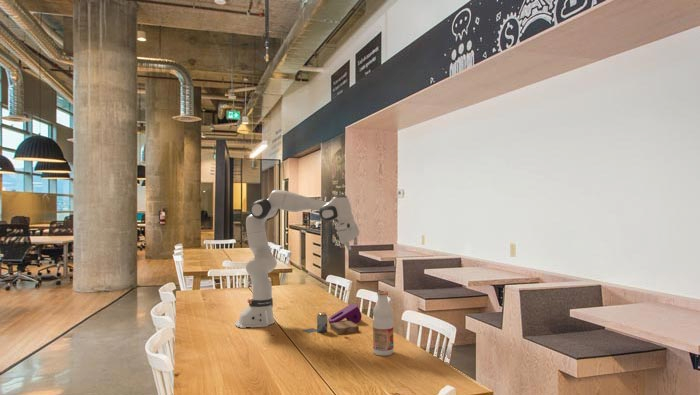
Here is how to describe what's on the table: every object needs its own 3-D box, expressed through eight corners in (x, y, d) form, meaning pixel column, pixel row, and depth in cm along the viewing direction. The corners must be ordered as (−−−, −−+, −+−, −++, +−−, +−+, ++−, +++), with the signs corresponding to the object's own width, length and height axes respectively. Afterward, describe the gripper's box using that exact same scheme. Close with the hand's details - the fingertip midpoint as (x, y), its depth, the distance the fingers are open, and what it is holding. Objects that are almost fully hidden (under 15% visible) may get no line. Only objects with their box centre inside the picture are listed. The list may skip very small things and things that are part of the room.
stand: (337, 334, 239) (337, 328, 239) (330, 328, 250) (330, 323, 250) (358, 331, 243) (358, 326, 243) (350, 326, 254) (350, 320, 254)
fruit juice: (370, 350, 212) (370, 290, 213) (389, 348, 214) (389, 289, 215) (376, 357, 203) (375, 294, 203) (396, 355, 205) (395, 293, 206)
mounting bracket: (337, 335, 257) (363, 319, 263) (330, 322, 256) (357, 306, 262) (332, 331, 266) (358, 315, 272) (326, 318, 265) (352, 303, 270)
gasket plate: (308, 334, 242) (308, 333, 242) (301, 331, 247) (301, 330, 247) (319, 331, 246) (319, 330, 246) (312, 329, 252) (312, 328, 252)
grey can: (319, 333, 240) (318, 314, 240) (315, 331, 245) (315, 312, 246) (328, 332, 242) (328, 313, 243) (325, 330, 248) (325, 311, 248)
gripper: (348, 220, 261) (354, 243, 262) (334, 228, 242) (340, 253, 243) (358, 218, 259) (364, 241, 260) (344, 226, 240) (351, 251, 241)
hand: (352, 247), depth 251 cm, fingers open, 8 cm apart
